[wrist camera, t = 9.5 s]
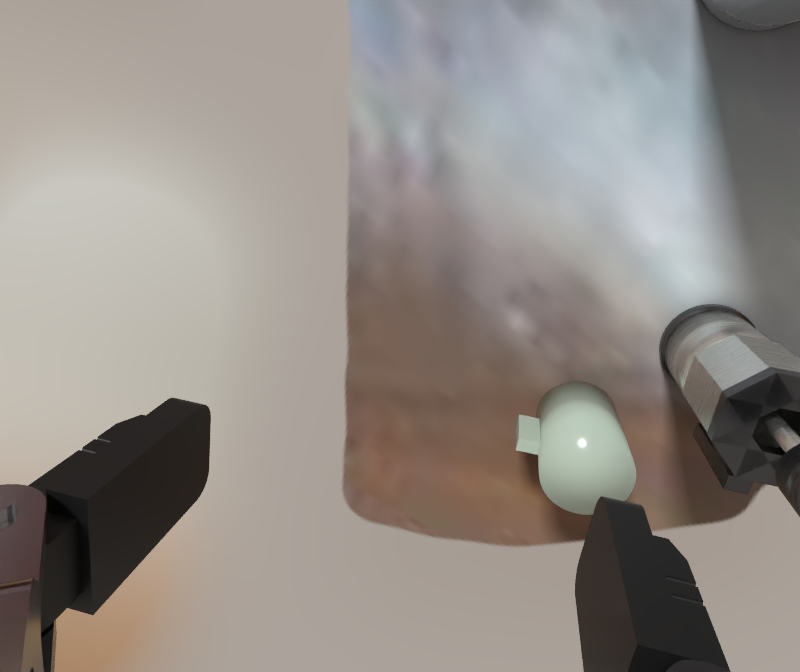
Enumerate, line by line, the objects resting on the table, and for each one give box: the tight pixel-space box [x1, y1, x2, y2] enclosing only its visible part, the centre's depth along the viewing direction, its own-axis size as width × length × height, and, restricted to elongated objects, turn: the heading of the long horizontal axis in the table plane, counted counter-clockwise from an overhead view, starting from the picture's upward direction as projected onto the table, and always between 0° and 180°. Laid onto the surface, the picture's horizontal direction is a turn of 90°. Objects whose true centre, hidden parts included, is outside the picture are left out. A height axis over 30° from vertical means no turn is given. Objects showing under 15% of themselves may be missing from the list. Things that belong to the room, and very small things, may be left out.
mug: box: [516, 382, 636, 515], centre depth 45 cm, size 6×8×9 cm
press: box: [659, 304, 800, 494], centre depth 39 cm, size 9×7×14 cm
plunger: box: [758, 411, 800, 516], centre depth 32 cm, size 4×4×14 cm
